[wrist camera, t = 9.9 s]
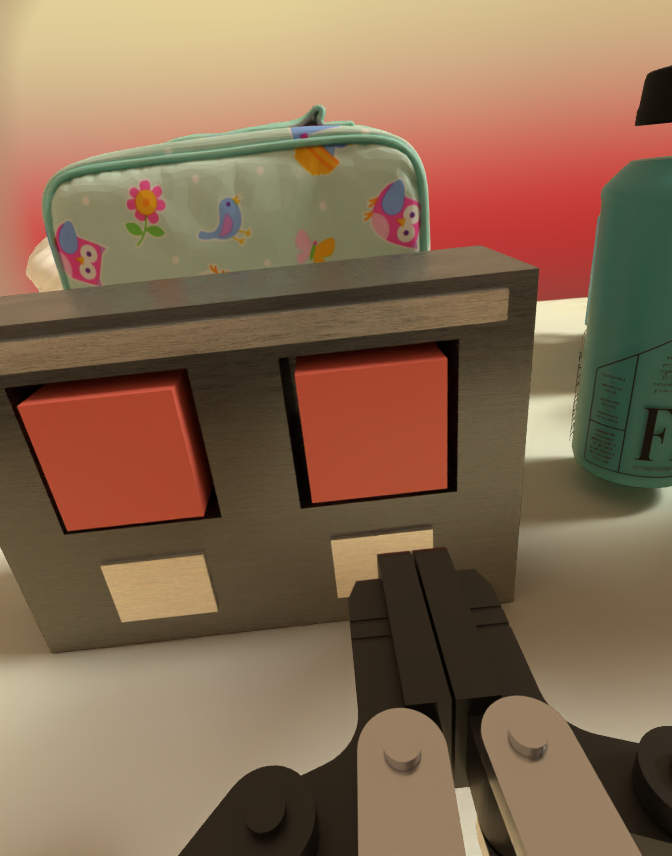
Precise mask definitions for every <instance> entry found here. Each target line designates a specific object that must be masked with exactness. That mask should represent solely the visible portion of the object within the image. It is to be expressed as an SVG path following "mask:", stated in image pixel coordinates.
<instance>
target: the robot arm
mask: <svg viewBox="0 0 672 856" xmlns="http://www.w3.org/2000/svg"><path fill="white" fill-rule="evenodd" d="M377 568H378V579H371V580H361V581H356V582H355V585H354V587H353V589H352V592H351V594H350V596H349V599H348V606H349V617H350V628H351V638H352V649H353V660H354V670H355V681H356V692H357V703H358V724H357V728H356V731H355V734H354V736H353V738H352V740H351V742H350V743H349V745H348V746H347V747H346V749H345V750H344V751H343V752H342V753H341V754H340V755H338V756H337V757H336V758H335V759H333V760H332V761H330V762H328V763H326V764H325V765H323V766H320V767H318V768H316V769H314V770H312V771H310V772H308V773H306V774H304V775H302V776H301V775H299V774H298V773H297V772H295V771H294V770H292V769H290V768H287V767H284V766H266V767H261V768H258V769H256V770H254V771H252V772H250V773H248V774H247V775H245V776H244V777H243V778H241V779H240V780H239V781H238V782H237V783H236V784H235V785H234V786H233V787H232V789H231V790H230V791H229V792H228V794H227V795H226V796H225V797H224V799H223V800H222V801H221V802H220V804H219V805H218V806H217V807H216V809H215V810H214V811H213V813H212V814H211V815H210V816H209V818H208V819H207V820H206V821H205V823H204V824H203V825H202V826H201V828H200V829H199V830H198V831H197V833H196V834H195V835H194V836H193V838H192V839H191V840H190V841H189V843H188V844H187V845H186V846H185V848H184V849H183V850H182V851H181V853H180V854H179V855H178V856H466V854H465V848H464V842H463V836H462V830H461V824H460V818H459V812H458V806H457V800H456V795H455V789H454V788H462V787H470V790H471V794H472V797H473V801H474V805H475V809H476V813H477V821H476V831H477V838H478V842H479V845H480V848H481V851H482V854H483V856H672V726H662V727H657V728H654V729H652V730H650V731H649V732H647V733H646V734H645V735H644V736H643V737H642V738H641V741H640V743H635V742H630V741H625V740H621V739H616V738H611V737H606V736H602V735H597V734H593V733H590V732H587V731H584V730H582V729H579V728H578V727H576V726H574V725H572V724H570V723H569V722H567V721H566V720H565V719H564V718H563V717H562V716H561V715H560V714H559V713H558V712H557V711H555V710H554V709H553V708H552V707H550V706H549V705H548V704H547V702H546V701H545V700H544V698H543V696H542V694H541V693H540V691H539V688H538V686H537V684H536V682H535V680H534V677H533V675H532V673H531V671H530V669H529V666H528V664H527V662H526V660H525V657H524V655H523V653H522V651H521V649H520V646H519V644H518V642H517V640H516V638H515V635H514V633H513V631H512V629H511V627H509V623H508V620H507V618H506V615H505V613H504V611H503V609H501V604H500V602H499V600H498V598H497V596H496V593H495V591H494V589H493V587H492V585H491V584H490V583H489V582H488V581H487V580H486V579H485V578H484V577H483V576H482V575H481V574H479V573H478V572H477V571H476V570H475V569H465V570H455V568H454V565H453V563H452V560H451V557H450V555H449V552H448V550H447V548H446V547H438V548H428V549H419V550H412V553H411V552H410V551H401V552H392V553H382V554H377Z"/></svg>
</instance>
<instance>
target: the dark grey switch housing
mask: <svg viewBox="0 0 672 856" xmlns="http://www.w3.org/2000/svg"><path fill="white" fill-rule="evenodd" d="M538 278H539V268H537V267H535V266H532V265H530V264H527V263H525V262H522V261H519V260H517V259H514V258H511V257H509V256H507V255H504V254H501V253H499V252H496V251H494V250H491V249H488V248H486V247H483V246H480V245H479V246H470V247H461V248H451V249H442V250H432V251H423V252H414V253H404V254H395V255H385V256H376V257H367V258H357V259H348V260H339V261H329V262H320V263H311V264H301V265H292V266H282V267H273V268H264V269H254V270H245V271H236V272H226V273H217V274H207V275H198V276H189V277H179V278H170V279H161V280H151V281H142V282H133V283H123V284H114V285H104V286H95V287H86V288H76V289H67V290H58V291H48V292H39V293H30V294H20V295H11V296H2V297H0V547H1V549H2V551H3V553H4V555H5V558H6V560H7V562H8V564H9V566H10V568H11V570H12V572H13V574H14V576H15V578H16V580H17V582H18V584H19V586H20V589H21V591H22V593H23V595H24V597H25V599H26V601H27V603H28V605H29V607H30V609H31V611H32V613H33V615H34V617H35V620H36V622H37V624H38V626H39V628H40V630H41V632H42V634H43V636H44V638H45V640H46V642H47V644H48V646H49V648H50V651H51V653H57V652H66V651H75V650H84V649H93V648H102V647H111V646H120V645H129V644H138V643H147V642H156V641H164V640H173V639H182V638H191V637H200V636H209V635H218V634H227V633H236V632H245V631H254V630H263V629H272V628H280V627H289V626H298V625H307V624H316V623H325V622H334V621H343V620H350V617H349V606H348V599H349V596H350V594H351V592H352V589H353V587H354V585H355V582H356V581H361V580H371V579H378V568H377V554H382V553H392V552H401V551H410V552H411V553H412V550H419V549H428V548H438V547H446V548H447V550H448V552H449V555H450V557H451V560H452V563H453V565H454V568H455V570H465V569H475V570H476V571H477V572H478V573H479V574H481V575H482V576H483V577H484V578H485V579H486V580H487V581H488V582H489V583H490V584H491V585H492V587H493V589H494V591H495V593H496V596H497V598H498V600H499V602H500V603H503V602H512V601H513V598H514V585H515V572H516V560H517V547H518V534H519V521H520V508H521V496H522V483H523V470H524V457H525V445H526V432H527V419H528V406H529V393H530V381H531V368H532V355H533V342H534V330H535V317H536V304H537V291H538ZM425 342H434V343H435V344H436V345H437V347H438V348H439V349H440V350H441V352H442V353H443V354H444V355H445V357H446V358H447V488H445V489H436V490H427V491H418V492H409V493H400V494H391V495H382V496H373V497H364V498H355V499H346V500H336V501H327V502H318V503H312V497H311V490H310V483H309V475H308V468H307V461H306V454H305V446H304V439H303V432H302V425H301V418H300V410H299V403H298V396H297V389H296V381H295V360H296V356H305V355H314V354H323V353H333V352H342V351H351V350H360V349H370V348H379V347H388V346H397V345H407V344H416V343H425ZM185 368H187V371H188V376H189V380H190V384H191V388H192V393H193V397H194V401H195V405H196V410H197V414H198V418H199V422H200V427H201V431H202V435H203V439H204V444H205V448H206V452H207V456H208V461H209V465H210V469H211V473H212V478H213V482H214V483H213V486H212V490H211V493H210V496H209V500H208V503H207V507H206V510H205V513H204V516H199V517H190V518H181V519H172V520H163V521H154V522H145V523H136V524H127V525H117V526H108V527H99V528H90V529H81V530H72V531H67V529H66V526H65V524H64V521H63V519H62V516H61V514H60V511H59V509H58V506H57V504H56V501H55V499H54V496H53V494H52V492H51V489H50V487H49V484H48V482H47V479H46V477H45V474H44V472H43V469H42V467H41V464H40V462H39V459H38V457H37V454H36V452H35V449H34V447H33V445H32V442H31V440H30V437H29V435H28V432H27V430H26V427H25V425H24V422H23V420H22V417H21V415H20V412H19V410H18V407H17V406H18V405H20V404H21V403H22V402H23V401H25V400H26V399H27V398H28V397H30V396H31V395H32V394H33V393H35V392H36V391H37V390H38V389H40V388H41V387H42V386H43V385H45V384H46V383H55V382H64V381H73V380H83V379H92V378H101V377H111V376H120V375H129V374H138V373H148V372H157V371H166V370H175V369H185Z"/></svg>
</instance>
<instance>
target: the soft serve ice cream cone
mask: <svg viewBox="0 0 672 856" xmlns="http://www.w3.org/2000/svg"><path fill="white" fill-rule="evenodd" d="M26 275H27V276H28V278H29V279H31V280H32V281H33V283H34V285H35V286H36V287H37V288H38V290H39V292H48V291H58V290H64V289H63V286H62V283H61V279H60V276H59V273H58V271H57V268H56V264H55V261H54V258H53V255H52V251H51V248H50V245H49V242H48V238H47V237H46V238H45V239H44V240H42V241H41V242H40V244H38V245H37V246H36V247H35V249H34V251H33V253H32V254H31V255H30V257H29V259H28V267H27V269H26Z"/></svg>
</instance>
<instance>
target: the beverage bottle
mask: <svg viewBox="0 0 672 856" xmlns="http://www.w3.org/2000/svg"><path fill="white" fill-rule="evenodd" d="M671 122H672V65H671V66H668V67H665V68H661V69H658V70H655V71H652V72H650V73H649V74H648V75H647V77H646V79H645V83H644V87H643V92H642V96H641V101H640V106H639V109H638V111H637V116H636V121H635V126H641V125H652V124H661V123H671ZM601 201H602V203H601V212H600V220H599V229H598V238H597V246H596V255H595V263H594V272H593V280H592V289H591V297H590V306H589V314H588V323H587V329H586V330H587V332H586V331H585V332H586V336H585V341H584V348H583V355H581V357H582V364H581V367H579V366H578V368H579V369H580V368H581V372H580V375H579V376H580V381H579V383H578V384H579V389H578V394H577V395H578V397H577V399H576V400H577V404H576V405H577V406H576V409H575V410H576V414H575V417H574V418H575V423H573V424H574V426H573V425H572V424H571V426H573V427H574V431H573V432H572V433H573V439H572V449H573V453H574V457H575V459H576V461H577V462H578V464H579V465H580V466H581V467H583V468H584V469H585V470H587V471H588V472H590V473H592V474H594V475H596V476H598V477H600V478H602V479H605V480H608V481H611V482H614V483H618V484H623V485H627V486H633V487H642V488H663V487H670V486H672V156H666V157H656V158H647V159H640V160H634V161H631V162H630V163H628V164H627V165H626V166H625V167H624V168H623V169H621V170H620V171H619V172H618V173H617V174H616V175H615V176H614V177H613V178H612V179H611V180H610V181H609V182H608V183H607V184H606V185H605V186H604V187H603V189H602V191H601ZM584 334H585V333H584ZM583 336H584V335H583ZM582 339H583V338H582ZM580 354H581V353H580ZM581 357H580V358H581ZM580 358H579V360H580ZM579 362H580V361H579ZM579 365H580V364H579ZM578 371H579V370H578ZM578 371H577V372H578ZM577 377H578V374H577ZM578 378H579V377H578ZM578 378H577V379H578ZM576 381H577V380H576ZM578 384H577V383H576V386H577V385H578ZM575 393H576V391H575ZM577 395H576V396H577ZM576 396H575V397H576ZM575 402H576V401H575V399H574V404H575ZM573 406H574V405H573ZM574 407H575V406H574ZM573 410H574V408H573ZM575 410H574V411H575ZM574 411H573V412H574ZM572 415H574V414H573V413H572ZM572 418H573V416H572ZM573 420H574V419H573ZM573 420H572V421H573ZM571 429H572V427H571ZM570 432H571V431H570ZM572 433H570V434H572ZM570 436H571V435H570ZM569 441H570V439H569Z"/></svg>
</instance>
